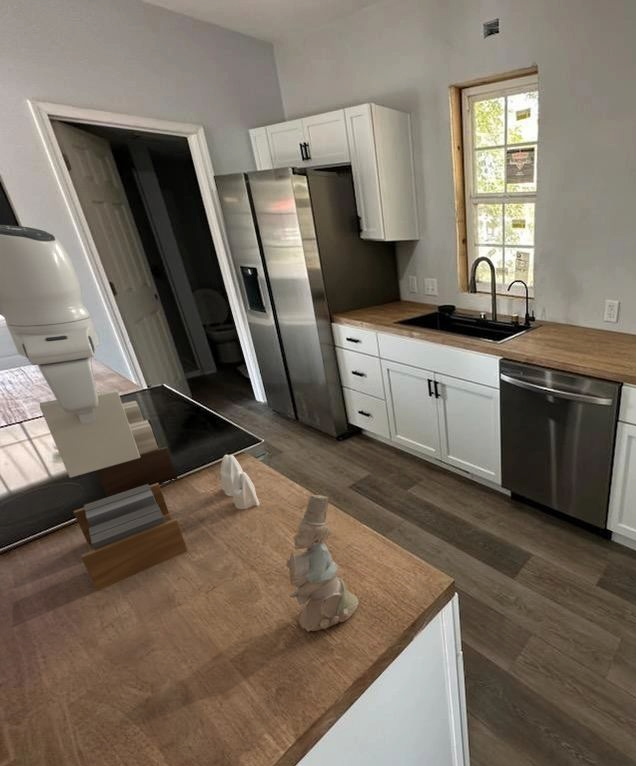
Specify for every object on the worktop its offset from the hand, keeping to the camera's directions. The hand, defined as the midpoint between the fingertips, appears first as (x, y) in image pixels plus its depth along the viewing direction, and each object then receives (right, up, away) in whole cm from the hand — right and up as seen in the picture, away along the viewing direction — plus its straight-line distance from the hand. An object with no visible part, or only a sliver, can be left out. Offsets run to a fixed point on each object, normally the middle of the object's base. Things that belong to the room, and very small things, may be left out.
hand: (87, 418), depth 68 cm
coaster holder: (+2, -25, +7) cm, 27 cm away
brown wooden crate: (-20, -16, +31) cm, 40 cm away
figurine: (+41, -31, -3) cm, 52 cm away
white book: (0, -8, +3) cm, 9 cm away
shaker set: (+12, -20, +22) cm, 32 cm away
